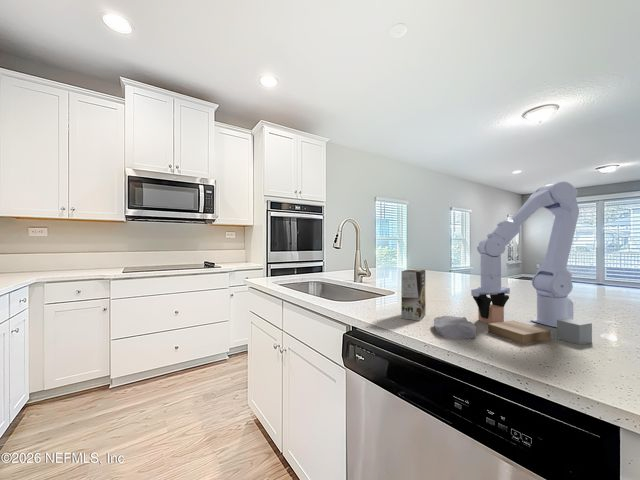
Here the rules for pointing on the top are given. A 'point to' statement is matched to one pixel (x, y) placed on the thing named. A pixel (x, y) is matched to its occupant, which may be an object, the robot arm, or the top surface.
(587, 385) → the top surface
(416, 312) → the coffee box
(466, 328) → the stone block
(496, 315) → the terracotta cube
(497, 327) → the walnut block
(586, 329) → the slate grey cube
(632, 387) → the top surface
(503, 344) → the top surface
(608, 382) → the top surface
